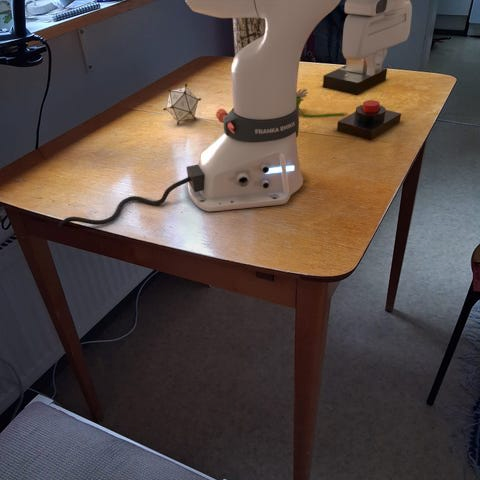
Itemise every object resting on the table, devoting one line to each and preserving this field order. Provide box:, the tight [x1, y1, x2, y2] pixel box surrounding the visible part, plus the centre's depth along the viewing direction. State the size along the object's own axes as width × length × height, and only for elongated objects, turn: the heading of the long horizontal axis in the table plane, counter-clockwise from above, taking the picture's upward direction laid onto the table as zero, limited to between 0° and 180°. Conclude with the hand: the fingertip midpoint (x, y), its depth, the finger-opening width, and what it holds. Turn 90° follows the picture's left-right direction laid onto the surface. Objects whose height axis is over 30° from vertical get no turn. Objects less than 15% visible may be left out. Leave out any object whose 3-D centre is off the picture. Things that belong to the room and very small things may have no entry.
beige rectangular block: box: [345, 58, 367, 74], centre depth 129 cm, size 6×2×4 cm, turn 46°
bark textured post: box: [232, 18, 266, 57], centre depth 107 cm, size 7×7×25 cm
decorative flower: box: [296, 88, 345, 118], centre depth 117 cm, size 8×6×15 cm
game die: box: [162, 82, 202, 126], centre depth 117 cm, size 9×8×10 cm
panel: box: [322, 65, 388, 96], centre depth 131 cm, size 14×11×3 cm
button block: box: [336, 104, 402, 141], centre depth 109 cm, size 12×9×4 cm
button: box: [362, 99, 381, 113], centre depth 107 cm, size 4×4×2 cm
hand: (373, 73), depth 102 cm, fingers closed
